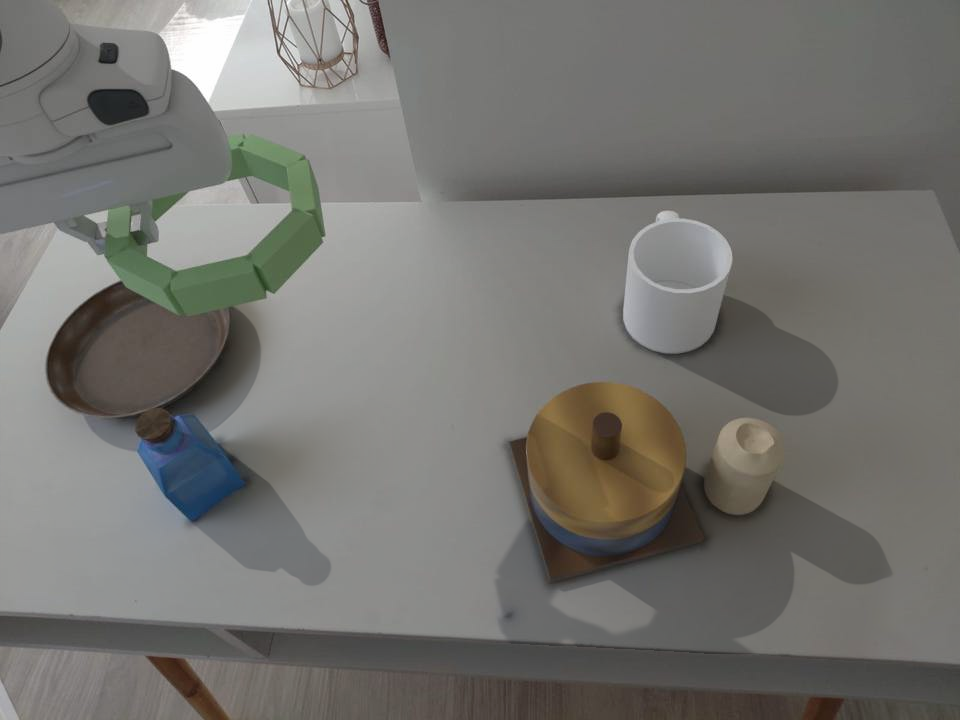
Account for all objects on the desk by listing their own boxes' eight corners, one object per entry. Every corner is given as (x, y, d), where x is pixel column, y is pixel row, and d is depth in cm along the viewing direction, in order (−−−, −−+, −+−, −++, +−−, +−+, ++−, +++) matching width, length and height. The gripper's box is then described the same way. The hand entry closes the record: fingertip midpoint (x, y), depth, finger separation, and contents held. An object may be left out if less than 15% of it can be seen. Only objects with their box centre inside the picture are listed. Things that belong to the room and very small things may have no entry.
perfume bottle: (192, 522, 75) (135, 467, 65) (165, 480, 78) (107, 421, 68) (246, 484, 76) (199, 425, 67) (217, 444, 80) (168, 382, 70)
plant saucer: (129, 271, 95) (117, 253, 93) (270, 306, 90) (261, 288, 87) (23, 405, 85) (5, 389, 82) (175, 454, 79) (161, 439, 77)
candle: (772, 477, 72) (798, 424, 63) (752, 526, 69) (777, 477, 61) (715, 453, 74) (734, 399, 65) (694, 499, 71) (711, 449, 63)
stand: (550, 583, 68) (547, 527, 57) (509, 447, 76) (500, 375, 65) (702, 542, 69) (727, 479, 58) (646, 411, 77) (658, 335, 66)
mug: (724, 351, 80) (743, 288, 72) (629, 359, 81) (636, 297, 72) (701, 263, 87) (715, 196, 79) (613, 270, 88) (618, 205, 80)
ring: (119, 332, 55) (99, 306, 53) (129, 189, 64) (111, 161, 62) (333, 283, 56) (322, 255, 54) (312, 149, 65) (302, 120, 63)
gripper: (-157, 158, 45) (-11, 304, 56) (183, 83, 46) (259, 241, 57) (-132, 96, 49) (1, 245, 60) (183, 28, 50) (255, 186, 61)
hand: (129, 243), depth 59 cm, fingers closed on ring, 2 cm apart
